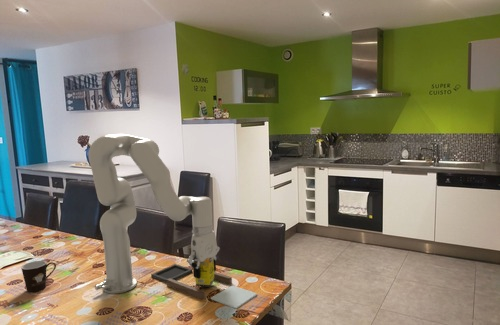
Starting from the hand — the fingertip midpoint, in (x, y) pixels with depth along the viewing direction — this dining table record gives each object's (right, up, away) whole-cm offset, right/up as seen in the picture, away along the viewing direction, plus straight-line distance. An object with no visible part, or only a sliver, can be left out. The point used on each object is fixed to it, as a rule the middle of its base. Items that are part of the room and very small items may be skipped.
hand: (205, 273), depth 138 cm
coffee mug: (-66, -7, +4) cm, 67 cm away
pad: (+12, -6, -8) cm, 16 cm away
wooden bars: (-2, -5, +3) cm, 6 cm away
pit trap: (-15, -5, +13) cm, 21 cm away
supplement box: (0, -4, +1) cm, 4 cm away
